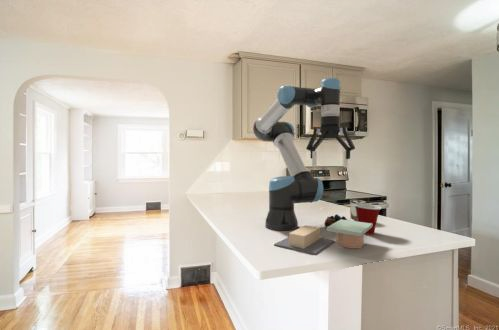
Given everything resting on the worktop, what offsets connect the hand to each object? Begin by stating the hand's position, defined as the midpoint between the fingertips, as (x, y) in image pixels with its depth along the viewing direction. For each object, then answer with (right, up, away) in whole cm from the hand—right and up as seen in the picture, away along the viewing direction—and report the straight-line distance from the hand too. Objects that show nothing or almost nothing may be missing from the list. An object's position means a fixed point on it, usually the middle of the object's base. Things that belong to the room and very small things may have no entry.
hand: (329, 166), depth 117 cm
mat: (-13, -29, -13) cm, 34 cm away
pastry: (+7, -29, +12) cm, 32 cm away
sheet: (+4, -23, -14) cm, 27 cm away
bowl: (+4, -29, -14) cm, 32 cm away
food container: (+23, -28, +25) cm, 44 cm away
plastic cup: (+17, -29, +2) cm, 33 cm away
